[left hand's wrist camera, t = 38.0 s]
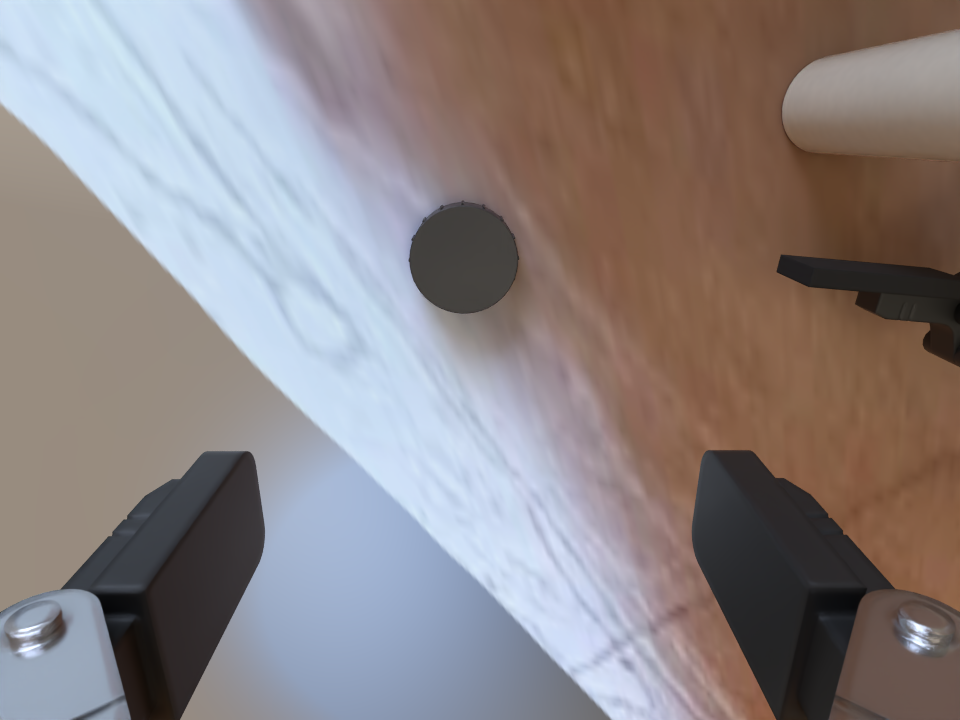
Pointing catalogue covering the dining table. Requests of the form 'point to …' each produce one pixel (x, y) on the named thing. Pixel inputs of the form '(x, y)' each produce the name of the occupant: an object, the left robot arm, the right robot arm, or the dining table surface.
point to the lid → (463, 258)
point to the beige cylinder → (880, 101)
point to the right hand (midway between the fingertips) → (841, 87)
